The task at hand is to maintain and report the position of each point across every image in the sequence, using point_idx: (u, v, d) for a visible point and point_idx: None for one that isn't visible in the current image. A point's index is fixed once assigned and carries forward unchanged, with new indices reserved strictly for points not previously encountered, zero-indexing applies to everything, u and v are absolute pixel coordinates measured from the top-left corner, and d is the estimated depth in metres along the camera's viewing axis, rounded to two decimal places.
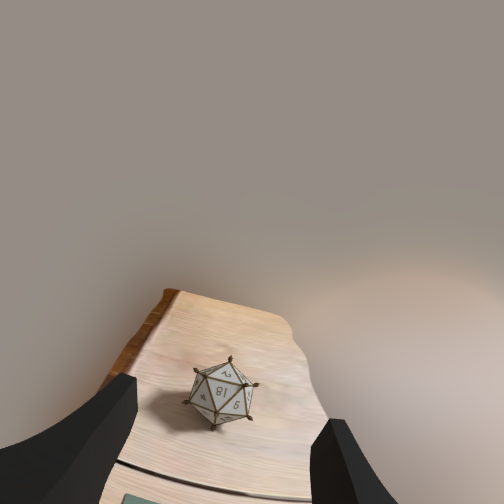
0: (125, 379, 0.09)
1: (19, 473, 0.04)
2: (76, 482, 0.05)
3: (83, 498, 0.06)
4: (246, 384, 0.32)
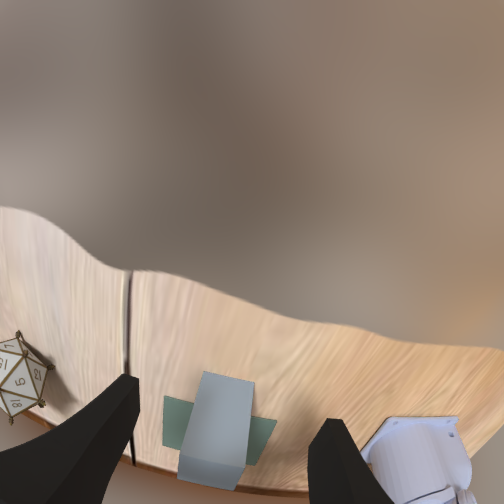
0: (127, 381, 0.09)
1: (22, 475, 0.04)
2: (79, 483, 0.05)
3: (86, 499, 0.06)
4: None
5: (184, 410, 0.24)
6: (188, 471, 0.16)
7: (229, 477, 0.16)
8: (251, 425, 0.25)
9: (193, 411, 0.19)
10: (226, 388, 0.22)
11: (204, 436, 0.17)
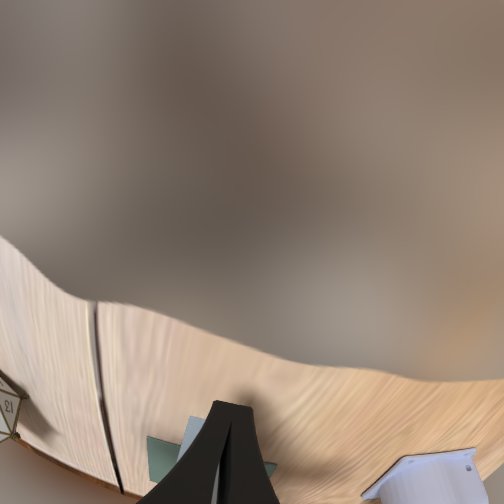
0: (224, 408, 0.09)
1: None
2: None
3: None
4: None
5: (170, 452, 0.20)
6: None
7: None
8: None
9: None
10: None
11: None
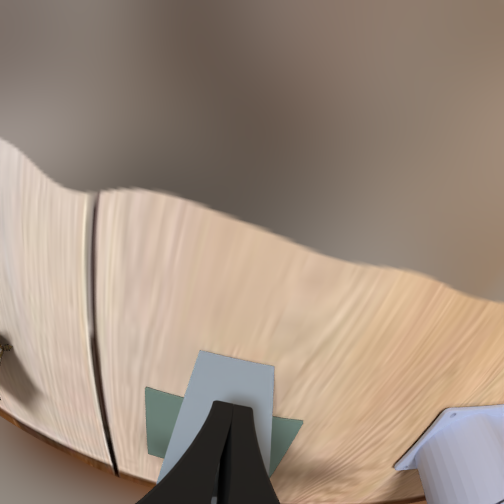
0: (224, 408, 0.09)
1: None
2: None
3: None
4: None
5: (173, 408, 0.17)
6: None
7: None
8: None
9: (181, 411, 0.12)
10: (233, 375, 0.14)
11: None
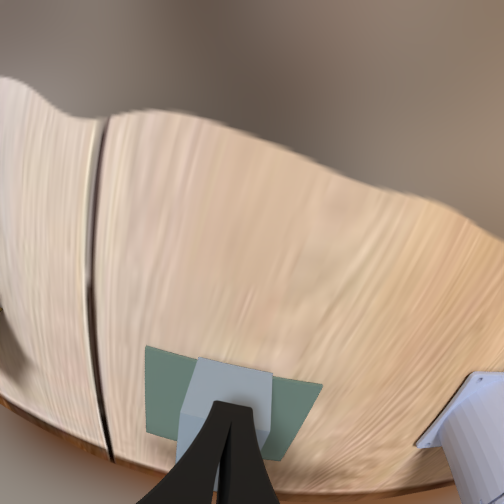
0: (224, 408, 0.09)
1: None
2: None
3: None
4: None
5: (177, 371, 0.16)
6: None
7: None
8: (282, 394, 0.16)
9: (177, 456, 0.14)
10: None
11: None
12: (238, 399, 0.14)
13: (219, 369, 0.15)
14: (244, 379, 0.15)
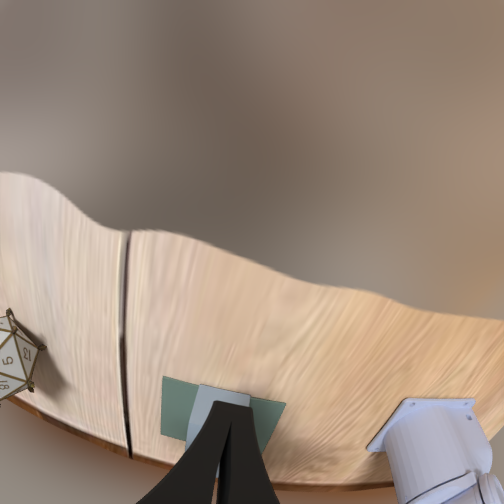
0: (224, 407, 0.09)
1: None
2: None
3: None
4: None
5: (184, 392, 0.23)
6: None
7: None
8: (258, 409, 0.23)
9: None
10: None
11: None
12: None
13: (213, 393, 0.22)
14: (230, 399, 0.22)
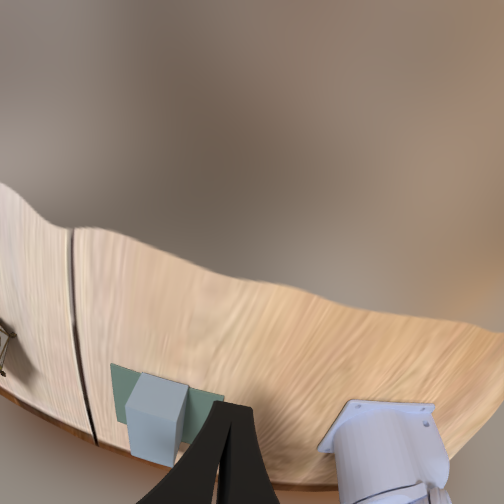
0: (224, 408, 0.09)
1: None
2: None
3: None
4: None
5: (130, 380, 0.24)
6: None
7: None
8: (198, 400, 0.24)
9: (129, 435, 0.21)
10: (150, 423, 0.20)
11: (142, 449, 0.22)
12: (162, 400, 0.21)
13: (153, 381, 0.23)
14: (168, 388, 0.22)
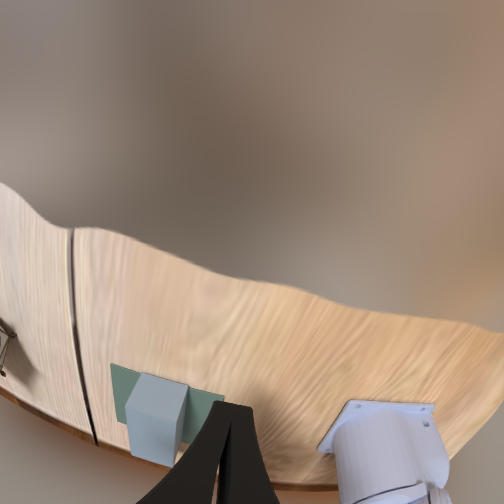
0: (224, 408, 0.09)
1: None
2: None
3: None
4: None
5: (130, 380, 0.24)
6: None
7: None
8: (198, 400, 0.24)
9: (129, 435, 0.21)
10: (150, 423, 0.20)
11: (142, 449, 0.22)
12: (162, 400, 0.21)
13: (153, 381, 0.23)
14: (168, 388, 0.22)
